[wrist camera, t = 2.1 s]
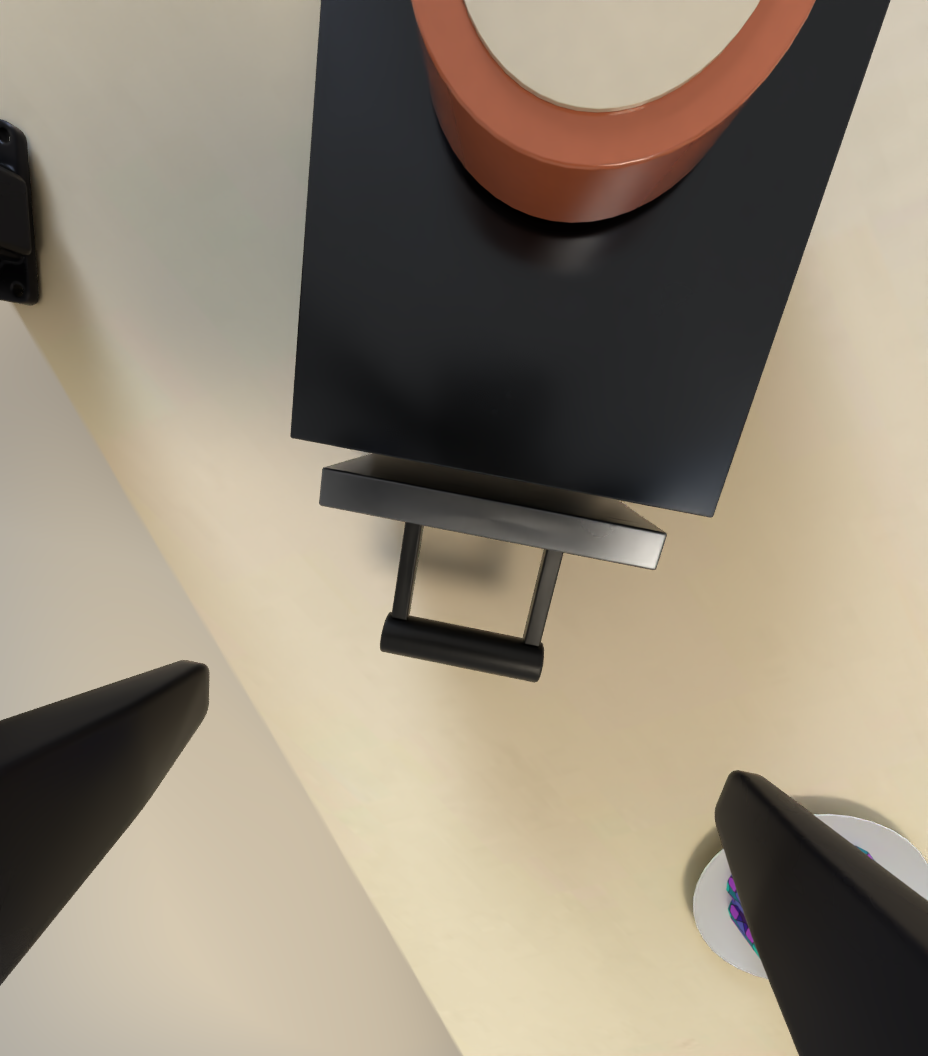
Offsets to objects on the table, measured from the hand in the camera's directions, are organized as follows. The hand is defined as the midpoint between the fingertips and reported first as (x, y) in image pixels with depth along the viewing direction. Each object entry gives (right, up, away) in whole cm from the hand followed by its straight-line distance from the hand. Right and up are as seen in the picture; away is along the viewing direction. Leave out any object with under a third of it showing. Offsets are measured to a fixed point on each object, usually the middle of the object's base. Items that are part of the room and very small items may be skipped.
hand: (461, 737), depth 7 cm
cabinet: (+3, +14, +10) cm, 17 cm away
